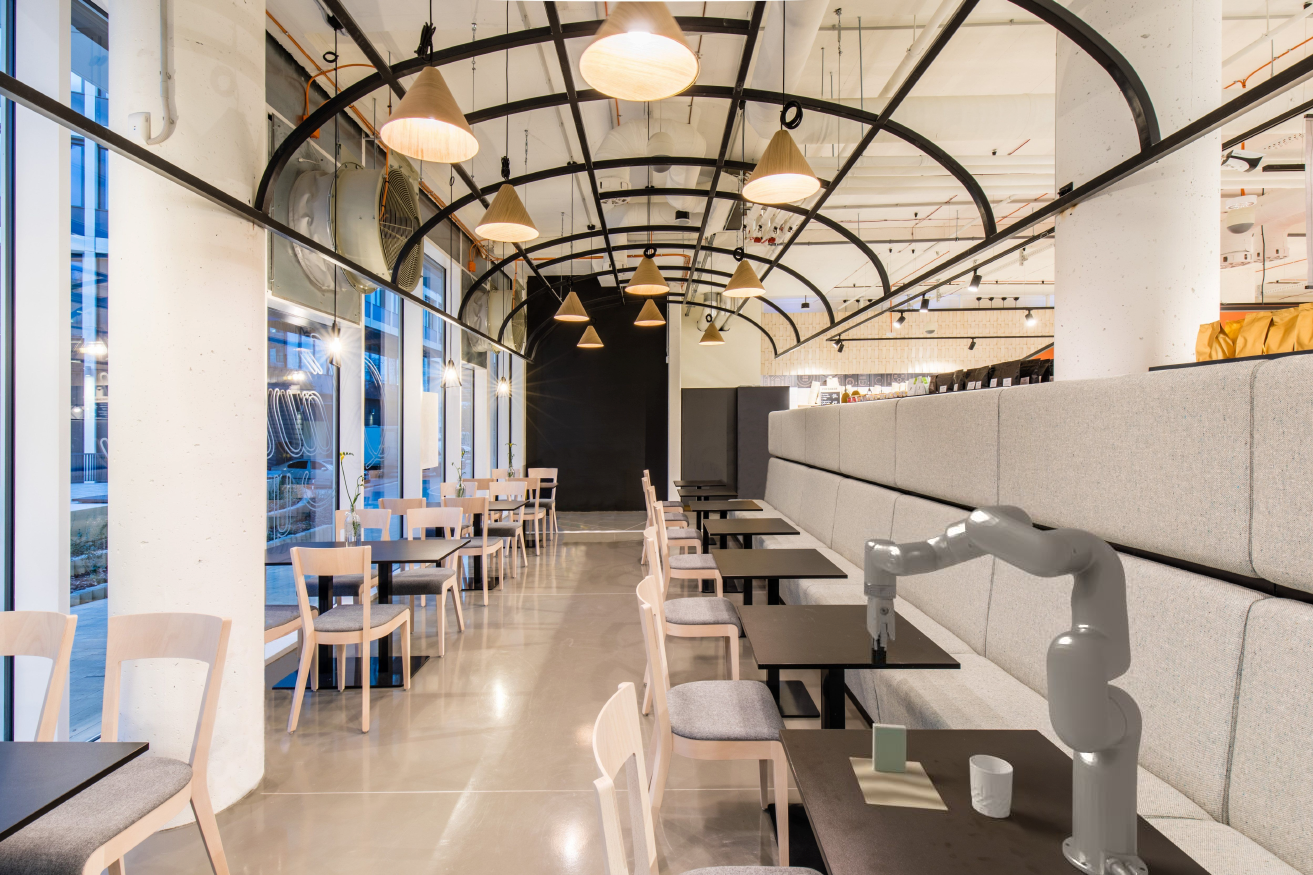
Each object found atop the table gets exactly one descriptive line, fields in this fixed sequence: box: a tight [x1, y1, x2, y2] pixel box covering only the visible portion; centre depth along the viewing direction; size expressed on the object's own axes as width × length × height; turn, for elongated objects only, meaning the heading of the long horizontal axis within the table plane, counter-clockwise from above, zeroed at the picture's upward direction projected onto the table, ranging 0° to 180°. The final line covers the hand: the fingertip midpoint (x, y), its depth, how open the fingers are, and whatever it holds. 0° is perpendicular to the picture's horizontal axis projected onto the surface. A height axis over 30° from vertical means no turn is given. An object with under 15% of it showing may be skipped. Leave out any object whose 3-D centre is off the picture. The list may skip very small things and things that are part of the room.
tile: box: [872, 723, 907, 773], centre depth 145 cm, size 2×7×10 cm, turn 83°
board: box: [849, 756, 949, 811], centre depth 140 cm, size 20×16×1 cm
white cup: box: [969, 754, 1014, 819], centre depth 130 cm, size 8×8×10 cm
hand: (878, 664), depth 157 cm, fingers closed
